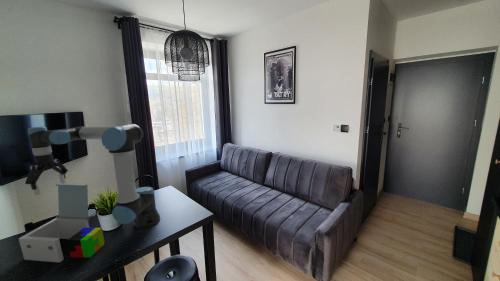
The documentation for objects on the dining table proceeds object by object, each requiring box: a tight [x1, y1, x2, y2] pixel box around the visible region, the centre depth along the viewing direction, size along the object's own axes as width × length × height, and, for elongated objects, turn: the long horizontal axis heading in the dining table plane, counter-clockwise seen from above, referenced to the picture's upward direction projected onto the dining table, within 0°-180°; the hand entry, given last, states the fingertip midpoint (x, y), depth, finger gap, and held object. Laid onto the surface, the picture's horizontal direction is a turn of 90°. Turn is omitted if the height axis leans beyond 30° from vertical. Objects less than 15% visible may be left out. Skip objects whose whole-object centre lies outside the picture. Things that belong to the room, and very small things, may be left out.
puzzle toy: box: [66, 227, 105, 258], centre depth 107 cm, size 10×10×10 cm
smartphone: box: [88, 209, 97, 218], centre depth 145 cm, size 7×1×15 cm
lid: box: [55, 183, 89, 219], centre depth 115 cm, size 18×20×2 cm
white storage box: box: [18, 214, 91, 263], centre depth 108 cm, size 21×19×14 cm
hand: (51, 189), depth 119 cm, fingers open, 13 cm apart
